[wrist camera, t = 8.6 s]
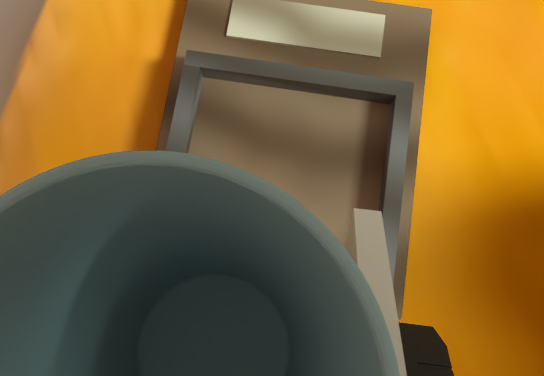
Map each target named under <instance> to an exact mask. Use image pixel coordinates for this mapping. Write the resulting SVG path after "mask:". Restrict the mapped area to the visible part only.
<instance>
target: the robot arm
mask: <svg viewBox="0 0 544 376" xmlns="http://www.w3.org/2000/svg"><path fill="white" fill-rule="evenodd" d="M345 249H346V250H347V251H348V253H349V254H350V256H351V257H352V259H353V260H354V262H355V263H356V264H357V266H358V267H359V269H360V270H361V272H362V273H363V275H364V277H365V279H366V280H367V282H368V284H369V286H370V288H371V290H372V292H373V294H374V296H375V298H376V300H377V302H378V304H379V306H380V309H381V311H382V314H383V316H384V319H385V322H386V325H387V328H388V331H389V334H390V337H391V340H392V344H393V347H394V350H395V355H396V359H397V363H398V368H399V373H400V376H454V374H453V371H452V370H451V368H452V366H451V362H450V358H449V354H448V350H447V346H446V345H445V343H444V342H443V340H442V339H441V338H440V336H439V335H438V333H437V332H436V331H435V329H434V328H433V327H430V326H422V325H414V324H406V323H399V322H398V315H397V309H396V302H395V296H394V289H393V283H392V276H391V270H390V264H389V257H388V251H387V244H386V238H385V231H384V225H383V218H382V212H381V211H374V210H366V209H358V208H354V209H353V214H352V218H351V223H350V228H349V233H348V238H347V243H346V248H345Z"/></svg>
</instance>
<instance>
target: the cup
mask: <svg viewBox="0 0 544 376" xmlns="http://www.w3.org/2000/svg"><path fill="white" fill-rule="evenodd" d="M0 376H400V373H399V368H398V363H397V359H396V355H395V350H394V347H393V344H392V340H391V337H390V334H389V331H388V328H387V325H386V322H385V319H384V316H383V314H382V311H381V309H380V306H379V304H378V302H377V300H376V298H375V296H374V294H373V292H372V290H371V288H370V286H369V284H368V282H367V280H366V279H365V277H364V275H363V273H362V272H361V270H360V269H359V267H358V266H357V264H356V263H355V262H354V260H353V259H352V257H351V256H350V254H349V253H348V251H347V250H346V249H345V248H344V247H343V245H342V244H341V243H340V242H339V240H338V239H337V238H336V237H335V235H334V234H333V233H332V232H331V231H330V230H329V229H328V228H327V227H326V226H325V225H324V224H323V223H322V222H321V221H320V220H319V219H318V218H317V217H316V216H315V215H314V214H313V213H312V212H311V211H309V210H308V209H307V208H306V207H304V206H303V205H302V204H301V203H300V202H298V201H297V200H296V199H295V198H293V197H292V196H290V195H289V194H287V193H286V192H284V191H283V190H281V189H279V188H278V187H276V186H274V185H273V184H271V183H270V182H268V181H266V180H264V179H262V178H260V177H258V176H256V175H254V174H252V173H250V172H248V171H245V170H243V169H240V168H238V167H235V166H232V165H229V164H226V163H224V162H221V161H218V160H215V159H211V158H206V157H202V156H198V155H194V154H188V153H181V152H172V151H126V152H116V153H110V154H104V155H99V156H93V157H89V158H85V159H81V160H78V161H74V162H71V163H67V164H65V165H62V166H59V167H56V168H54V169H51V170H49V171H46V172H44V173H41V174H39V175H37V176H35V177H33V178H31V179H29V180H27V181H25V182H23V183H21V184H19V185H17V186H15V187H14V188H12V189H10V190H9V191H7V192H6V193H4V194H3V195H1V196H0Z"/></svg>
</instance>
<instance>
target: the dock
mask: <svg viewBox="0 0 544 376" xmlns="http://www.w3.org/2000/svg"><path fill="white" fill-rule="evenodd" d="M431 15H432V9H426V8H419V7H412V6H404V5H397V4H390V3H383V2H375V1H368V0H187V5H186V10H185V15H184V19H183V24H182V29H181V34H180V38H179V43H178V48H177V53H176V57H175V62H174V67H173V72H172V76H171V81H170V86H169V91H168V96H167V100H166V105H165V110H164V115H163V119H162V124H161V129H160V134H159V138H158V143H157V148H156V151H172V152H181V153H188V154H194V155H198V156H202V157H206V158H211V159H215V160H218V161H221V162H224V163H226V164H229V165H232V166H235V167H238V168H240V169H243V170H245V171H248V172H250V173H252V174H254V175H256V176H258V177H260V178H262V179H264V180H266V181H268V182H270V183H271V184H273V185H274V186H276V187H278V188H279V189H281V190H283V191H284V192H286V193H287V194H289V195H290V196H292V197H293V198H295V199H296V200H297V201H298V202H300V203H301V204H302V205H303V206H304V207H306V208H307V209H308V210H309V211H311V212H312V213H313V214H314V215H315V216H316V217H317V218H318V219H319V220H320V221H321V222H322V223H323V224H324V225H325V226H326V227H327V228H328V229H329V230H330V231H331V232H332V233H333V234H334V235H335V237H336V238H337V239H338V240H339V242H340V243H341V244H342V245H343V247H344V248H346V243H347V238H348V233H349V228H350V223H351V218H352V214H353V209H354V208H358V209H366V210H374V211H381V212H382V218H383V225H384V231H385V238H386V244H387V251H388V257H389V264H390V270H391V276H392V283H393V289H394V296H395V302H396V309H397V315H398V319H399V320H401V316H402V306H403V296H404V286H405V276H406V266H407V256H408V246H409V236H410V226H411V216H412V206H413V196H414V186H415V176H416V166H417V156H418V146H419V136H420V125H421V115H422V105H423V95H424V85H425V75H426V65H427V55H428V45H429V35H430V25H431Z"/></svg>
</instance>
